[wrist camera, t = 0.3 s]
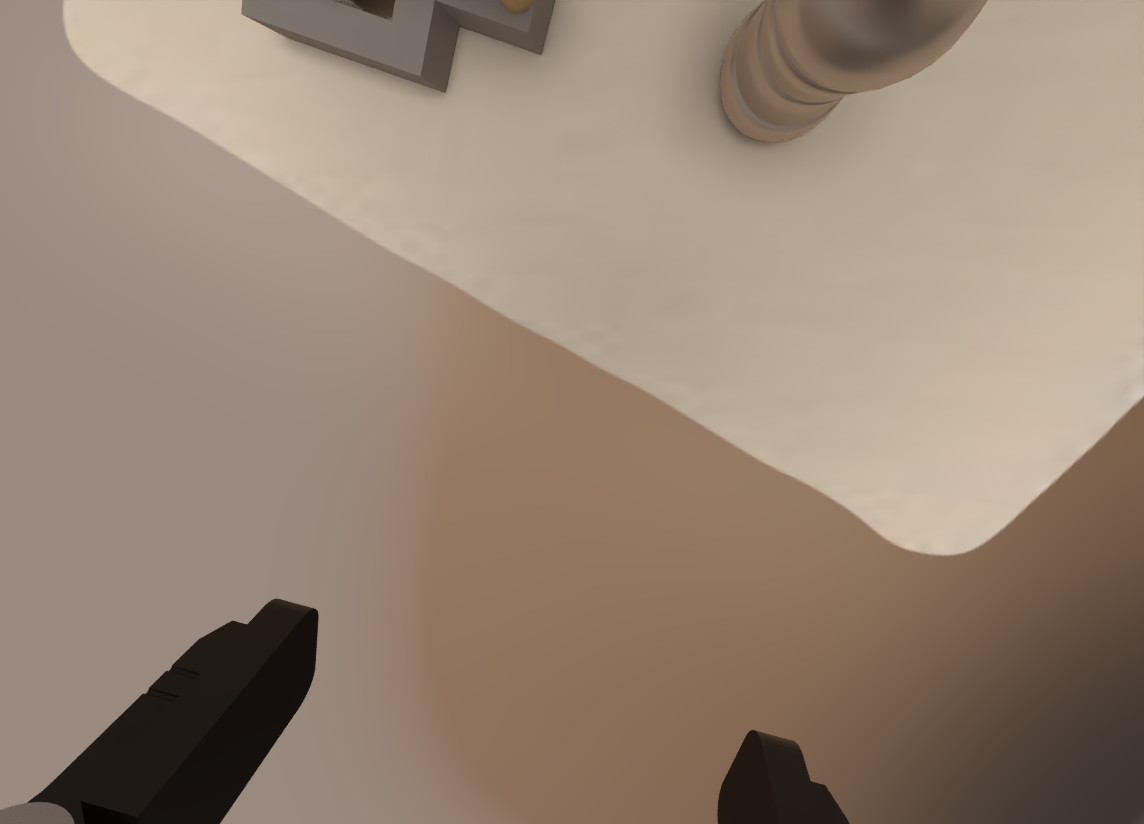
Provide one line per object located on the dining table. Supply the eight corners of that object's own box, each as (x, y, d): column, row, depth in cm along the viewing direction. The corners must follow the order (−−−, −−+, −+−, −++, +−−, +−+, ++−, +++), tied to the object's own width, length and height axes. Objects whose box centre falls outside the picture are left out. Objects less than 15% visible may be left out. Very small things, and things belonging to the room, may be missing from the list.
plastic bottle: (693, 123, 31) (777, -14, 13) (748, -11, 29) (952, -424, 10) (795, 165, 31) (1027, 91, 13) (858, 36, 29) (1258, -288, 10)
